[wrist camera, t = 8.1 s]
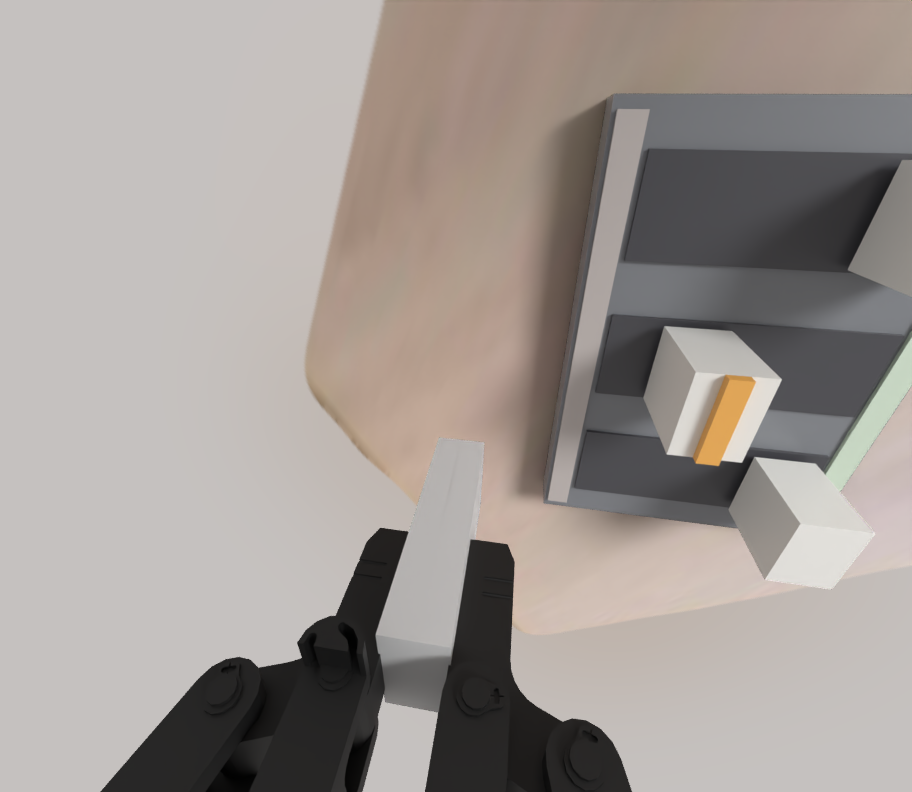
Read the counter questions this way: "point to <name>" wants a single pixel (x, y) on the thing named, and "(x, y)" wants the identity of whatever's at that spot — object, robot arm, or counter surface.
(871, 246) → the breaker near
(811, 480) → the block
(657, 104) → the panel
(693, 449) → the breaker mid
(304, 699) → the robot arm
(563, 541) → the counter surface
